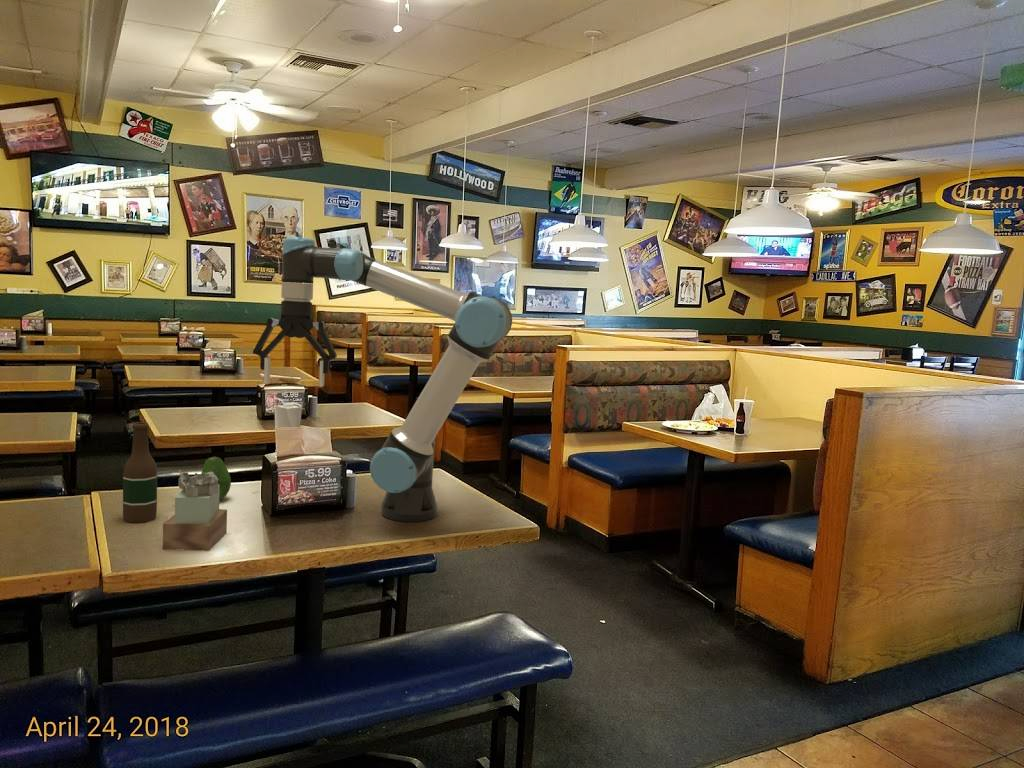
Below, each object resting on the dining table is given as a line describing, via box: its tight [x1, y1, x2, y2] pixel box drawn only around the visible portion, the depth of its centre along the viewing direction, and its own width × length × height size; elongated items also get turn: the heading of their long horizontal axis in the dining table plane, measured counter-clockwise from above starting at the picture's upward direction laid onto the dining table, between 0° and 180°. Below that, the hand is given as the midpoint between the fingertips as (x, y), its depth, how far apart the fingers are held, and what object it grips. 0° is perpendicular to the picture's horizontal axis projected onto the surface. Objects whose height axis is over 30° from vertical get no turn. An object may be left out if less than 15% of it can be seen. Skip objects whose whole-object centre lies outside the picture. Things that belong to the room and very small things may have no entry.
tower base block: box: [162, 508, 228, 552], centre depth 165 cm, size 10×12×6 cm
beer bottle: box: [122, 421, 158, 524], centre depth 176 cm, size 8×8×24 cm
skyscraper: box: [273, 397, 303, 452], centre depth 203 cm, size 8×8×28 cm
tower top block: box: [174, 485, 220, 524], centre depth 164 cm, size 7×11×6 cm, turn 10°
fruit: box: [200, 456, 232, 501], centre depth 195 cm, size 8×8×12 cm
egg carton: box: [177, 469, 218, 497], centre depth 164 cm, size 11×8×4 cm
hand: (294, 384), depth 182 cm, fingers open, 13 cm apart
